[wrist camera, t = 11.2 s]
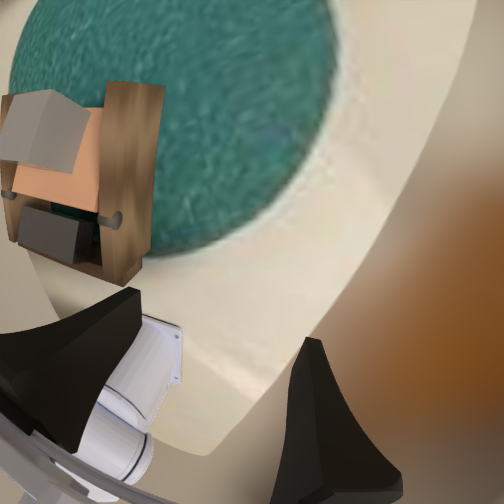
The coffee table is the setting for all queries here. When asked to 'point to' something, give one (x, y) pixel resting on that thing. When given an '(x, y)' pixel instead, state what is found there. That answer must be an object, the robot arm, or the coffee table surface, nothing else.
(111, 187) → the frame
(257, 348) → the coffee table surface
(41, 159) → the stone
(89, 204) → the trapdoor
